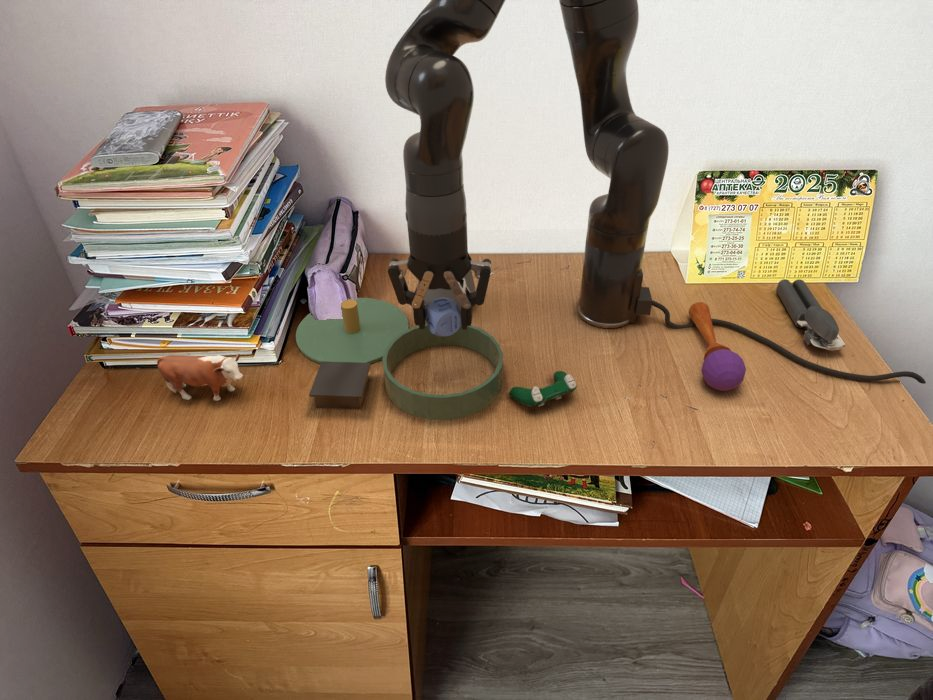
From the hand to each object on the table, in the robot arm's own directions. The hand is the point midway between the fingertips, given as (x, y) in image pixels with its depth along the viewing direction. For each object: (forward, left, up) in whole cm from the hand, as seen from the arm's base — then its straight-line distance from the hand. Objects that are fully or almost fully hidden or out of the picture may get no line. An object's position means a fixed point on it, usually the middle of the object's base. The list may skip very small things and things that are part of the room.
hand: (443, 325), depth 95 cm
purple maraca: (-41, -8, -11) cm, 43 cm away
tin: (0, 0, -10) cm, 10 cm away
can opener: (-58, -17, -11) cm, 62 cm away
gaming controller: (-15, +3, -11) cm, 18 cm away
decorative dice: (0, 0, -1) cm, 1 cm away
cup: (+1, -19, -11) cm, 22 cm away
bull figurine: (+34, +5, -11) cm, 36 cm away
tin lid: (+16, -11, -10) cm, 22 cm away
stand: (+15, +4, -10) cm, 19 cm away
